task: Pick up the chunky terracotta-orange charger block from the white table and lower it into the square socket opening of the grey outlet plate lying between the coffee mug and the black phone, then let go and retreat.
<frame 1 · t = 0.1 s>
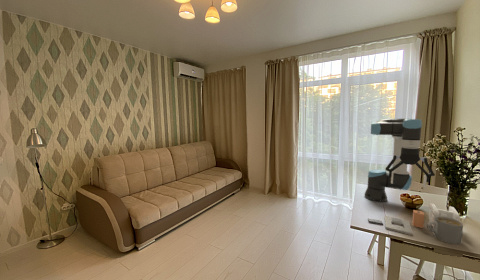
hand: (407, 185, 105), 28 cm above the table, fingers open, 13 cm apart
outlet plate: (397, 225, 115), on the table
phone: (375, 222, 119), on the table
coffee mug: (442, 237, 103), on the table
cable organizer: (441, 227, 113), on the table
charger: (417, 225, 115), on the table
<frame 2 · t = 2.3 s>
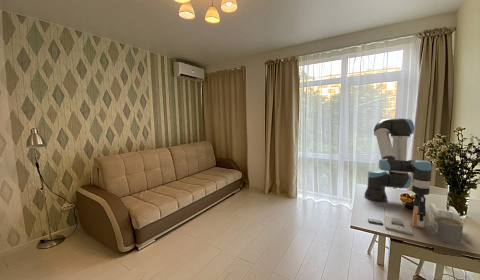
hand: (418, 220, 115), 3 cm above the table, fingers open, 13 cm apart
nothing on the table moved.
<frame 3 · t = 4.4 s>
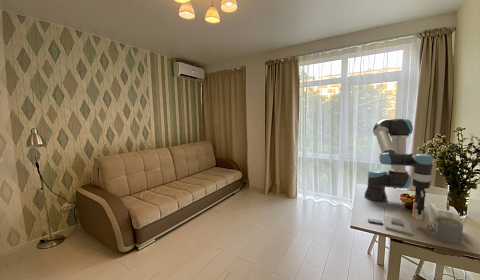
hand: (417, 217, 115), 5 cm above the table, fingers closed on charger, 4 cm apart
charger: (417, 217, 115), point 5 cm above the table, touching gripper
everything else where it was.
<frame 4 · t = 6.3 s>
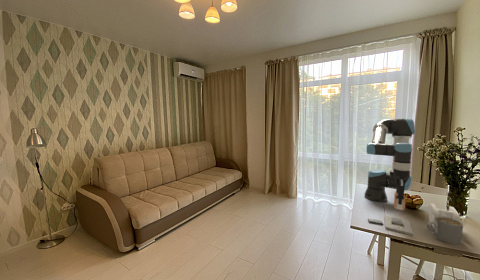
hand: (398, 207, 113), 12 cm above the table, fingers closed on charger, 4 cm apart
charger: (398, 208, 113), point 12 cm above the table, touching gripper
everything else where it was.
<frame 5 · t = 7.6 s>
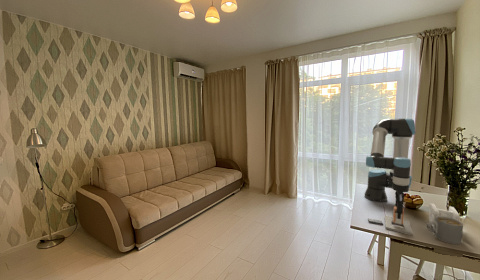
hand: (397, 221, 114), 3 cm above the table, fingers closed on charger, 4 cm apart
charger: (397, 221, 114), point 3 cm above the table, touching gripper
everything else where it was.
when the fingers open (2 cm above the table, at t = 8.4 s): charger drops 2 cm, resting in outlet plate.
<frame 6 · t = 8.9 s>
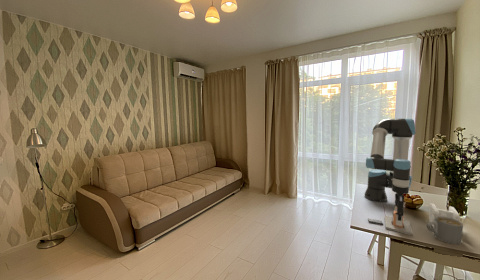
hand: (397, 220, 114), 4 cm above the table, fingers open, 11 cm apart
charger: (397, 226, 114), resting in outlet plate
everything else where it was.
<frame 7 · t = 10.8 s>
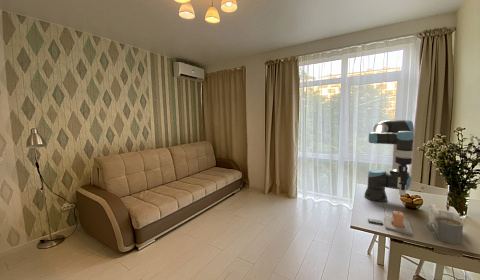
hand: (401, 191, 116), 21 cm above the table, fingers open, 13 cm apart
nothing on the table moved.
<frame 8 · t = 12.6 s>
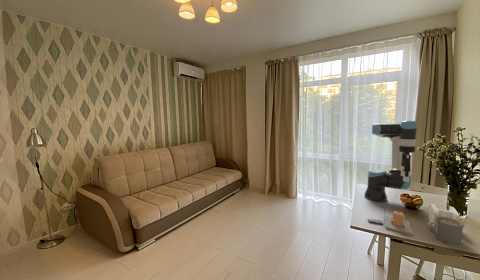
hand: (404, 178, 120), 27 cm above the table, fingers open, 13 cm apart
nothing on the table moved.
at the end: charger 0.0 cm off-centre on the outlet plate, point 0.0 cm above the outlet plate's base; charger tilted 0°; the gripper is holding nothing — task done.
